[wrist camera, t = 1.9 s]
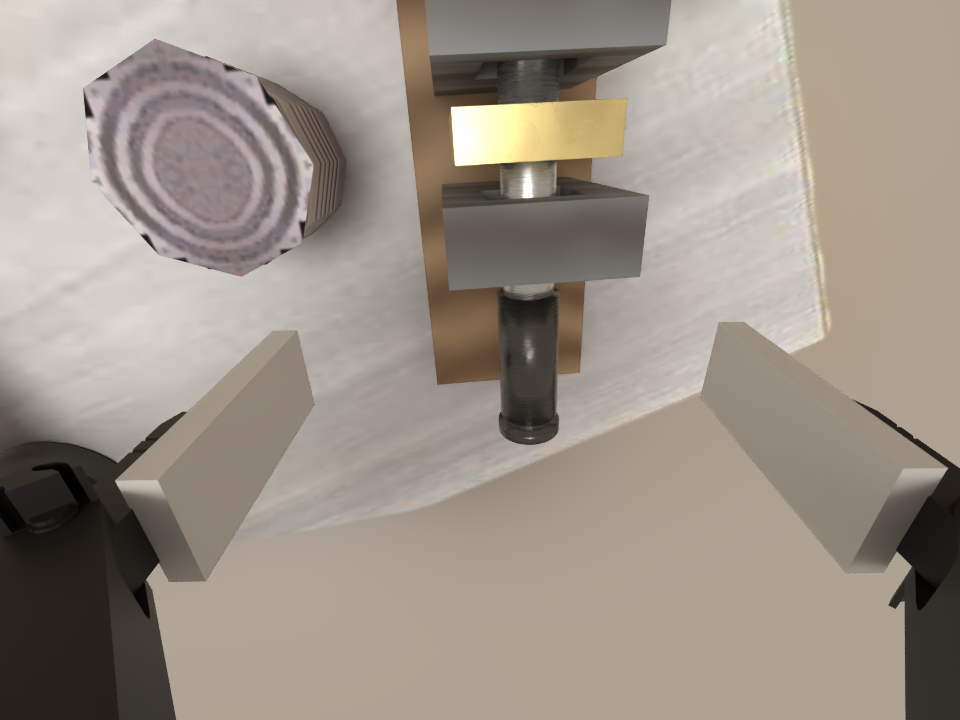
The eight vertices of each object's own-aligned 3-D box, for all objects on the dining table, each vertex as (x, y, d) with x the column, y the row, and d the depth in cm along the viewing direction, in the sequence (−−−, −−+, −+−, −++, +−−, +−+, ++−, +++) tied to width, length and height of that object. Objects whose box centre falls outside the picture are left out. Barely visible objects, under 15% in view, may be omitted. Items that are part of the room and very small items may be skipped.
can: (357, 105, 33) (317, 85, 22) (340, 252, 38) (300, 294, 27) (194, 59, 31) (63, 12, 20) (197, 221, 36) (92, 252, 25)
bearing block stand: (575, 365, 44) (645, 480, 29) (437, 377, 44) (436, 500, 28) (594, -8, 31) (742, -159, 16) (397, -1, 30) (354, -149, 15)
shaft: (551, 408, 35) (565, 441, 31) (495, 413, 34) (503, 447, 30) (562, -54, 22) (588, -97, 18) (476, -51, 22) (484, -94, 18)
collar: (576, 153, 29) (622, 156, 22) (451, 161, 29) (455, 165, 21) (577, 111, 28) (627, 98, 21) (448, 118, 28) (451, 107, 20)
